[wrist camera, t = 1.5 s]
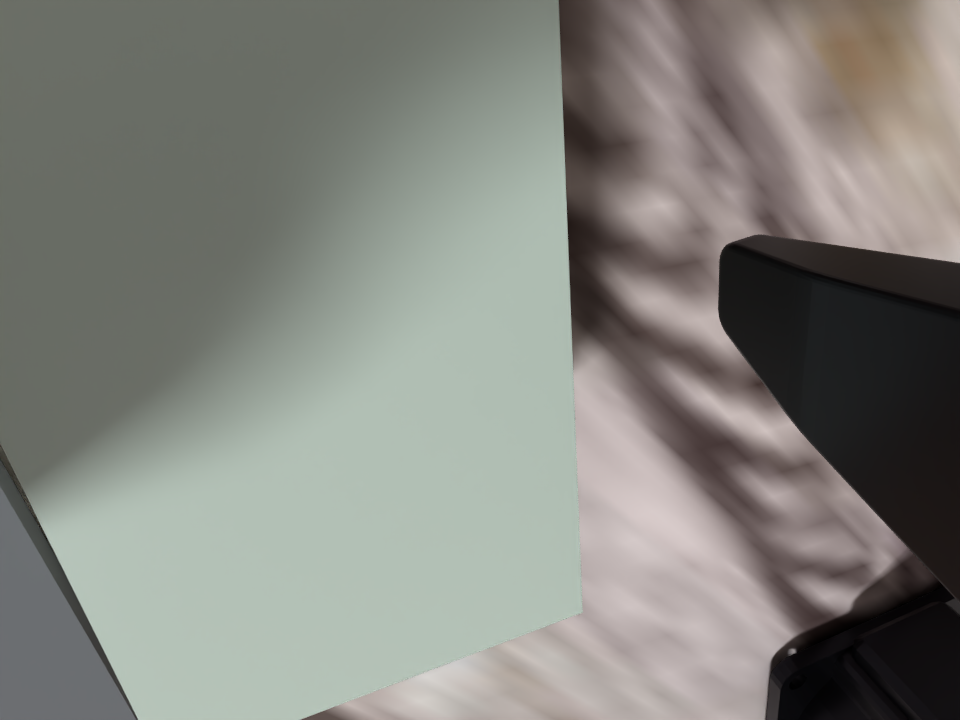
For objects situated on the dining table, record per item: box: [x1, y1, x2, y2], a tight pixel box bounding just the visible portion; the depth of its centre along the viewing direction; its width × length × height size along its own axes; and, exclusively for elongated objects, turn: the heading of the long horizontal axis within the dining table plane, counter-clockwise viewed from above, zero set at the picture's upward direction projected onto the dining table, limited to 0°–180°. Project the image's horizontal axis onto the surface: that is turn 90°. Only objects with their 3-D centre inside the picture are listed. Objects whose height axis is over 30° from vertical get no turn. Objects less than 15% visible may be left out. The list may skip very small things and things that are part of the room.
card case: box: [0, 0, 583, 720], centre depth 10 cm, size 9×6×4 cm, turn 6°
